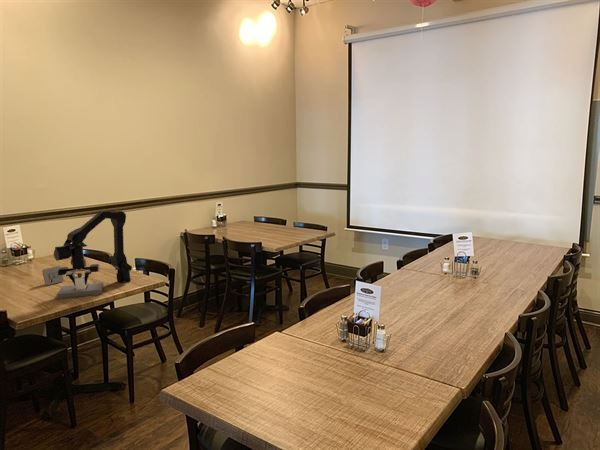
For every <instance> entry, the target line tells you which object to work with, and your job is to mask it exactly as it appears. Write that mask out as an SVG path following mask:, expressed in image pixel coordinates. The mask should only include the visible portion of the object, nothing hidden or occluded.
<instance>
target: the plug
mask: <svg viewBox="0 0 600 450" xmlns="http://www.w3.org/2000/svg"><path fill="white" fill-rule="evenodd" d="M75 287H76V290H82V289H86V287H87V286H86V285H85V275H83V274H82V272H78V273H77V276H75Z"/></svg>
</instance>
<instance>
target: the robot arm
mask: <svg viewBox="0 0 600 450" xmlns="http://www.w3.org/2000/svg"><path fill="white" fill-rule="evenodd" d="M106 219H110V222H111V224H112V226H113V248H114V249H113V250H114V252H113V254H112V255H110V258H109V259H110V262H109V263H110V264H111V266H112V267H113V268H114V270H115V271H116V272H117V273H116V281H117V283H118V284H120V283H129V282H131V279H132V277H131V271H132V269H133V267H132V265H130V264H129V263H128V260H127V256H126V254H125V250H124V248H125V247H124V225H125V224H126V220H127V214H126V213H125V212H124V211H121V210H118V209H117V210H116V209H115V210H111V211H107V210H99V211H98V212H97V213H96V214H95V215H94V216H92V218H90V219H89V220H88V221H87V222H85V223H84V224H82V225H81V226H79V227H78V228H76V229H74V230H72V231H70V232H68V234H67V237H66V239H65V241H64V242H63V245H61V246H55V247H54V250H53V258H54V259H55V261H57V262H58V261H63V260H68V259H70V257H71V259H70V265H71V268H69V266H62V267H61V266H60V267H61V268H60V269H59V270H58V275H63V276H66V277H68V278H69V279H70V280H71V282H72V283H73V285H75V277H76V276H75V275H76V274H75V272H85V273H84V276H85V285H86V284H88V280H89V275H92V273H97V272H99V271H100V264H99V263H94V264H90V266H87V259H85V255H84V248H85V247H87V246H88V245H87V244H86V243H84V241H85V240H86V238H87V236H88V234H89V233H90V232H91V231H92V230H94V229H95V228H96V227H97V226H99V224H101V223H102V222H103V221H104V220H106Z"/></svg>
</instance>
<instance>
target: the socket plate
mask: <svg viewBox="0 0 600 450" xmlns="http://www.w3.org/2000/svg"><path fill="white" fill-rule="evenodd" d="M86 286H87V287H86V289H82V290H76V287H75V285H74V284H72V285H63V286H61V287H60V289H59V291H58V292H57V294H56V296H57V300H58V299H59V300H60V299H71V298H81V297H87V296H97V295H101V294H102V292H103V290H104V288H105V287H104V286H105V285H104V282H103V281H102V282H93V283H91V282H90V283H87V284H86Z"/></svg>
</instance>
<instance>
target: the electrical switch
mask: <svg viewBox="0 0 600 450" xmlns="http://www.w3.org/2000/svg"><path fill="white" fill-rule="evenodd" d="M60 268H61V266H60V265H55V266H50V267H47V268H42V270H41V272H42V277H43V280H44V284H45V286H50V285H55V284H59V283H63V282H64V281H65V280H64V275H58V270H59V269H60Z"/></svg>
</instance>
